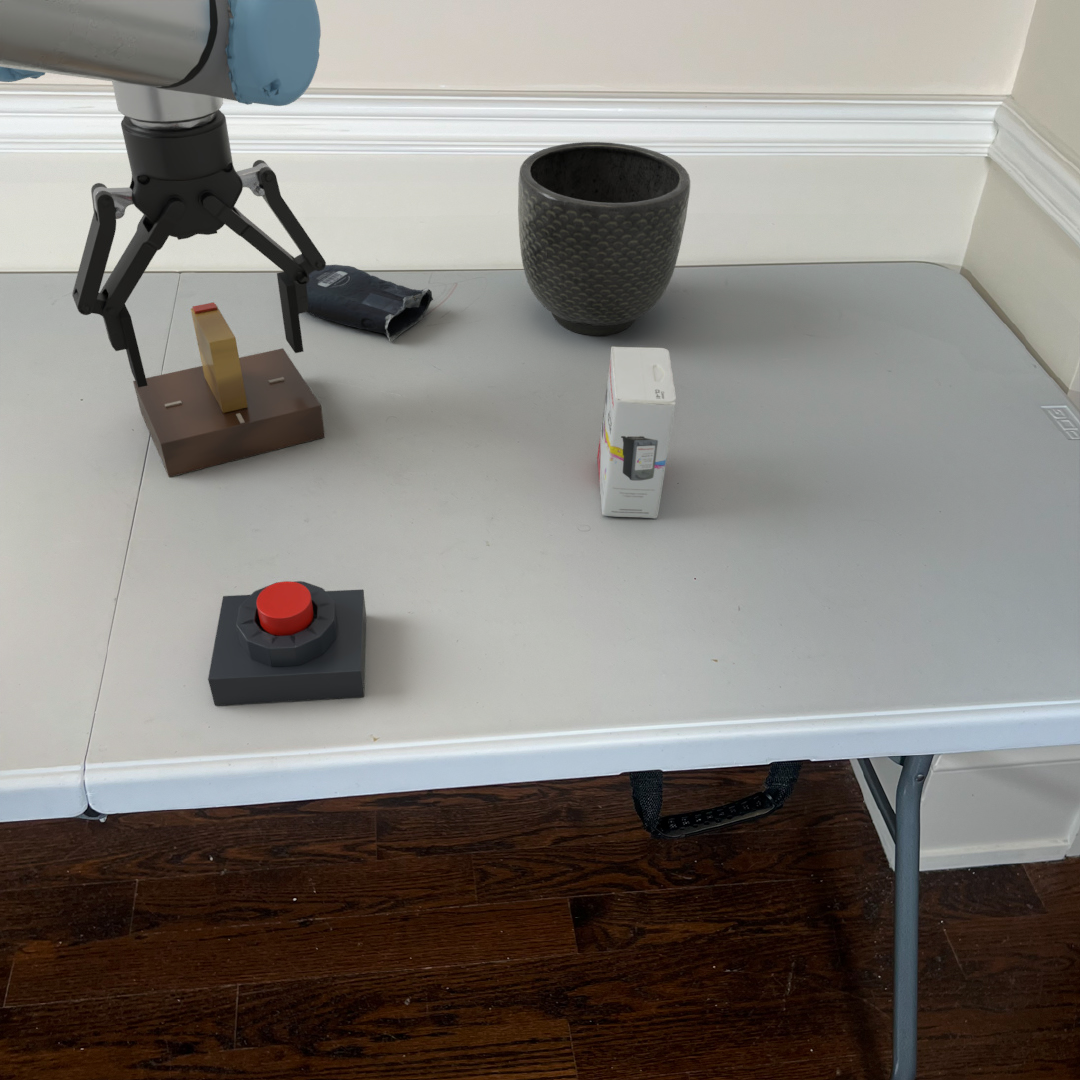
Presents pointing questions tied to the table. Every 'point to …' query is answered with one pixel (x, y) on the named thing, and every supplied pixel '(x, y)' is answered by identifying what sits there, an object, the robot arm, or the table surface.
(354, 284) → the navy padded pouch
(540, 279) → the planter
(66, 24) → the robot arm
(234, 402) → the thumb turn
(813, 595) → the table surface
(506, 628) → the table surface
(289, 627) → the button
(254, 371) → the plate
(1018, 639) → the table surface
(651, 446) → the ink box
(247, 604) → the grey square base
